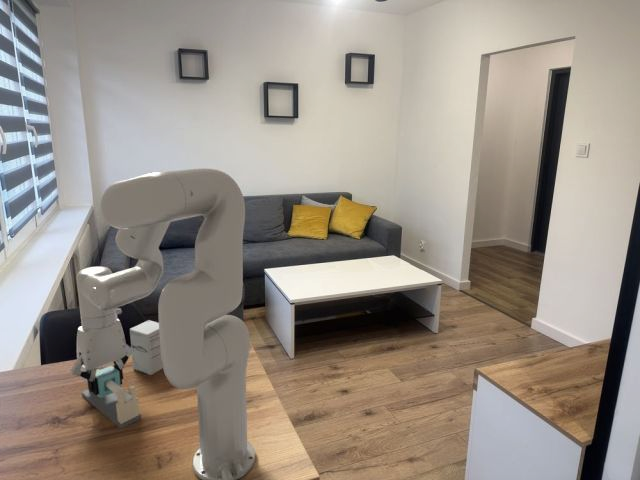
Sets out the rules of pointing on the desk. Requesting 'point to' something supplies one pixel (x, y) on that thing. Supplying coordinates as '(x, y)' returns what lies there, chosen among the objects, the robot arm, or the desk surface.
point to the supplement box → (146, 347)
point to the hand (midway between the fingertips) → (106, 387)
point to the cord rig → (115, 403)
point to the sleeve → (106, 375)
